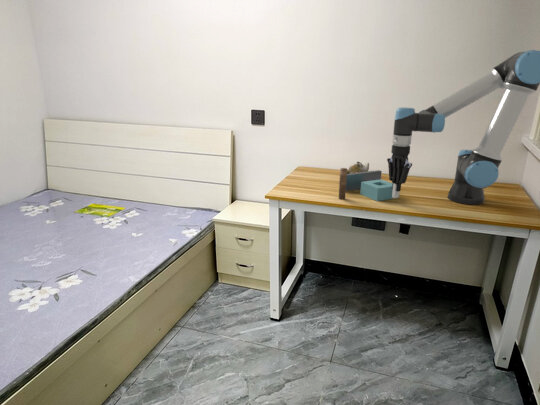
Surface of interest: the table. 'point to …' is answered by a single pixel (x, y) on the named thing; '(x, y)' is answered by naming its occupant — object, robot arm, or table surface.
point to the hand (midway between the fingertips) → (395, 197)
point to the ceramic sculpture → (358, 168)
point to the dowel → (342, 183)
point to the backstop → (361, 179)
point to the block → (377, 189)
